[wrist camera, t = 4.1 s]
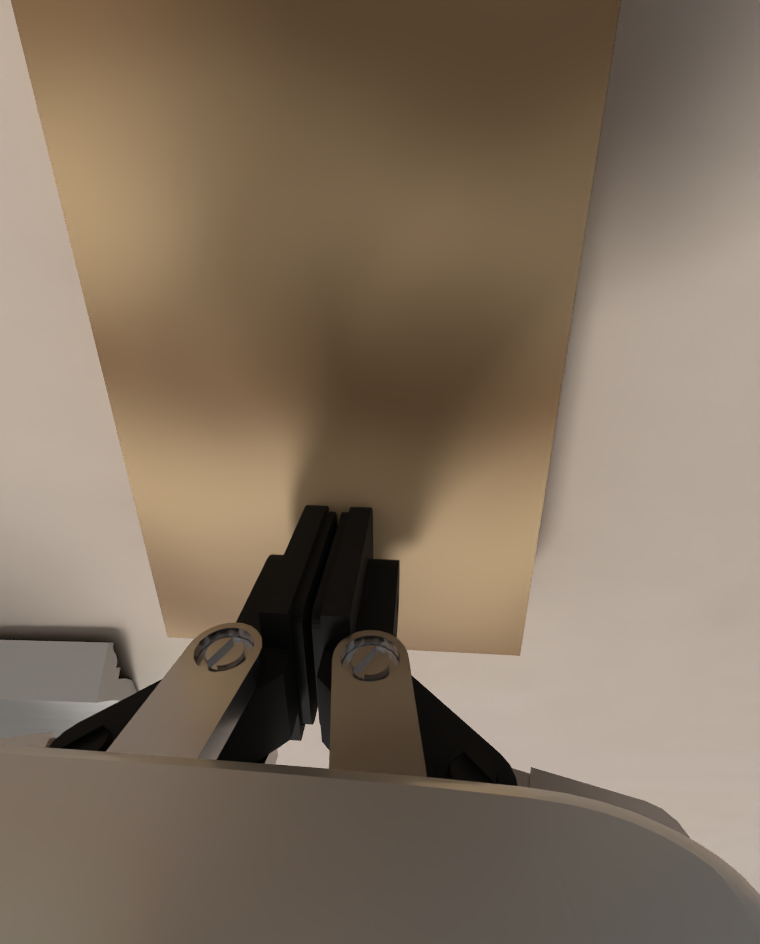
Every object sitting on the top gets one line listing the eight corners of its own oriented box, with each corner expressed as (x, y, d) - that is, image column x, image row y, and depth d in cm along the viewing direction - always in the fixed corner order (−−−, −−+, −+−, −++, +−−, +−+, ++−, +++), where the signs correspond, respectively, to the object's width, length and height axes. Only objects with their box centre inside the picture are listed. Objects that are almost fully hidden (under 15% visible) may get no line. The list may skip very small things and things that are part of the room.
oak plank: (56, -92, 9) (-32, -171, 7) (605, -122, 9) (653, -216, 7) (196, 592, 16) (167, 637, 14) (508, 607, 15) (519, 655, 14)
